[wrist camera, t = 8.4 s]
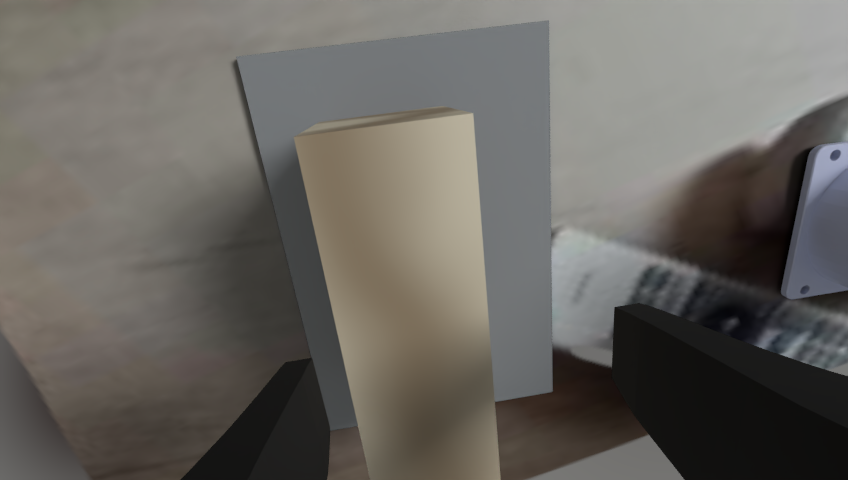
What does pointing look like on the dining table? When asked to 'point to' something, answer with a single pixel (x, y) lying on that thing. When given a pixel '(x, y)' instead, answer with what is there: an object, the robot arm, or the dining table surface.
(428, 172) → the plank
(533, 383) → the mat
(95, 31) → the dining table surface
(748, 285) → the dining table surface
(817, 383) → the robot arm
